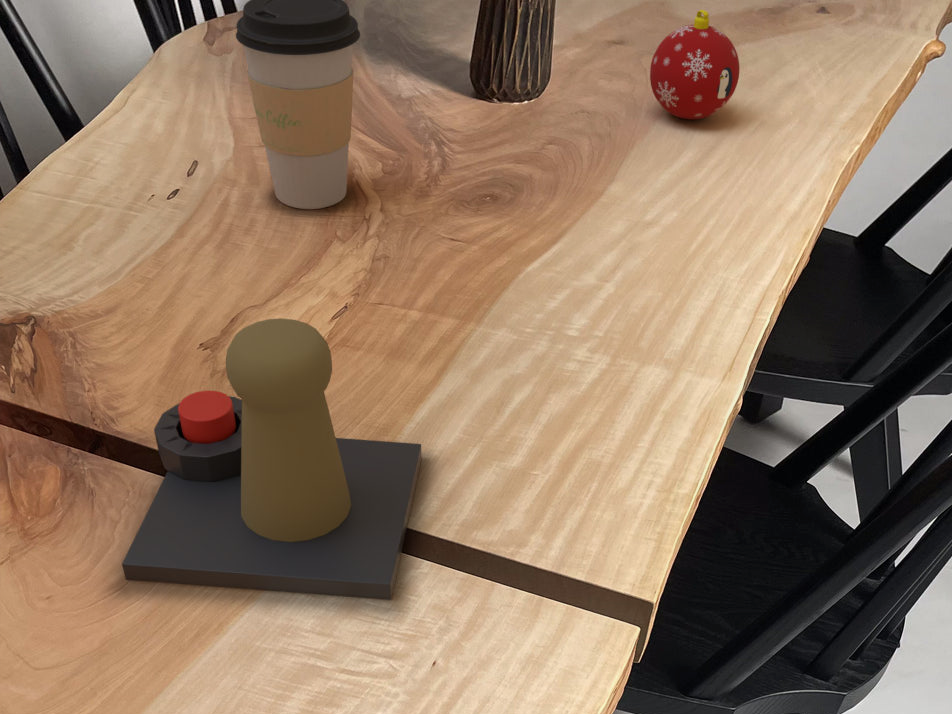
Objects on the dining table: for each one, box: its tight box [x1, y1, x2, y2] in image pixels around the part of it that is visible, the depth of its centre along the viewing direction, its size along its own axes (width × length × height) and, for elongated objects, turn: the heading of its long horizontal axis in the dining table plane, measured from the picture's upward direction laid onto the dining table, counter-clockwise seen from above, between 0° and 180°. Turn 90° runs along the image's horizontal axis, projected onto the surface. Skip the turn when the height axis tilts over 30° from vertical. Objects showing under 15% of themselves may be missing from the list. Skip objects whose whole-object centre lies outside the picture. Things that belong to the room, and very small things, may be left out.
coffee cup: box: [235, 0, 361, 210], centre depth 88 cm, size 9×9×15 cm
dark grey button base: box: [121, 395, 423, 601], centre depth 61 cm, size 15×13×3 cm
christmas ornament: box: [649, 9, 740, 120], centre depth 106 cm, size 9×9×10 cm
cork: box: [225, 317, 351, 542], centre depth 57 cm, size 6×6×11 cm
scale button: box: [178, 390, 236, 444], centre depth 63 cm, size 3×3×2 cm
